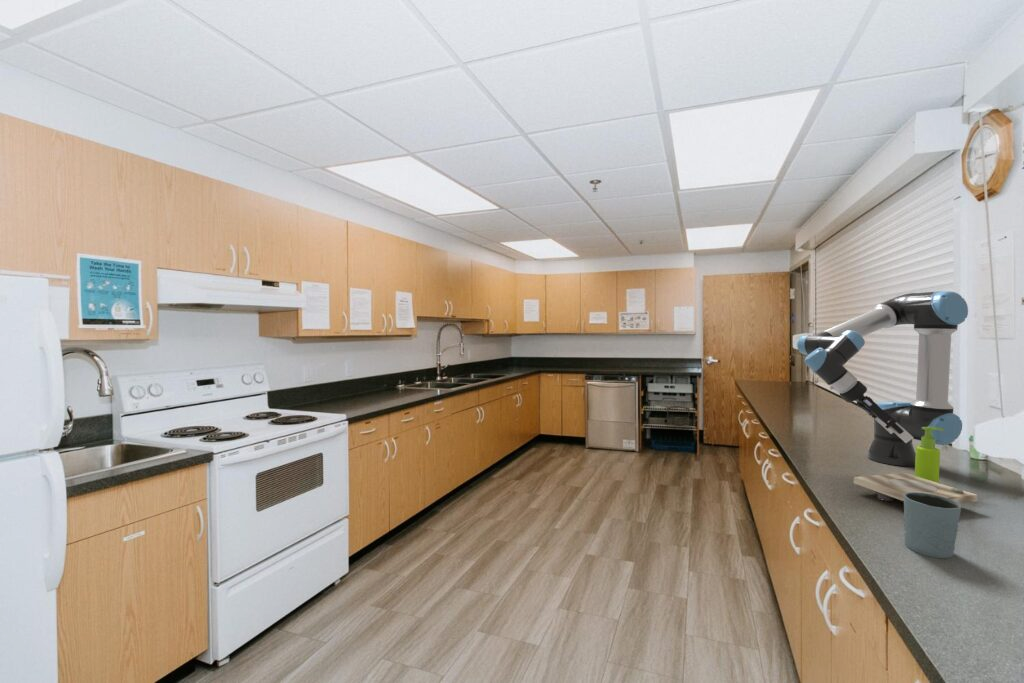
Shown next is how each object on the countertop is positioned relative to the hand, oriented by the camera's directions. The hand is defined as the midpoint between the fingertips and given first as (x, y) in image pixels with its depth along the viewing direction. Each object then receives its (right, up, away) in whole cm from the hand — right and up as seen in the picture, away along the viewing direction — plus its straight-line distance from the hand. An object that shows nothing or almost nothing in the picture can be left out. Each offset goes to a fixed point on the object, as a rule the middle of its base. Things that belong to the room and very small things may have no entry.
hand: (901, 435), depth 154 cm
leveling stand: (-8, -17, -13) cm, 23 cm away
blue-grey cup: (-29, -18, -43) cm, 55 cm away
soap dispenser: (+7, -17, -2) cm, 19 cm away
